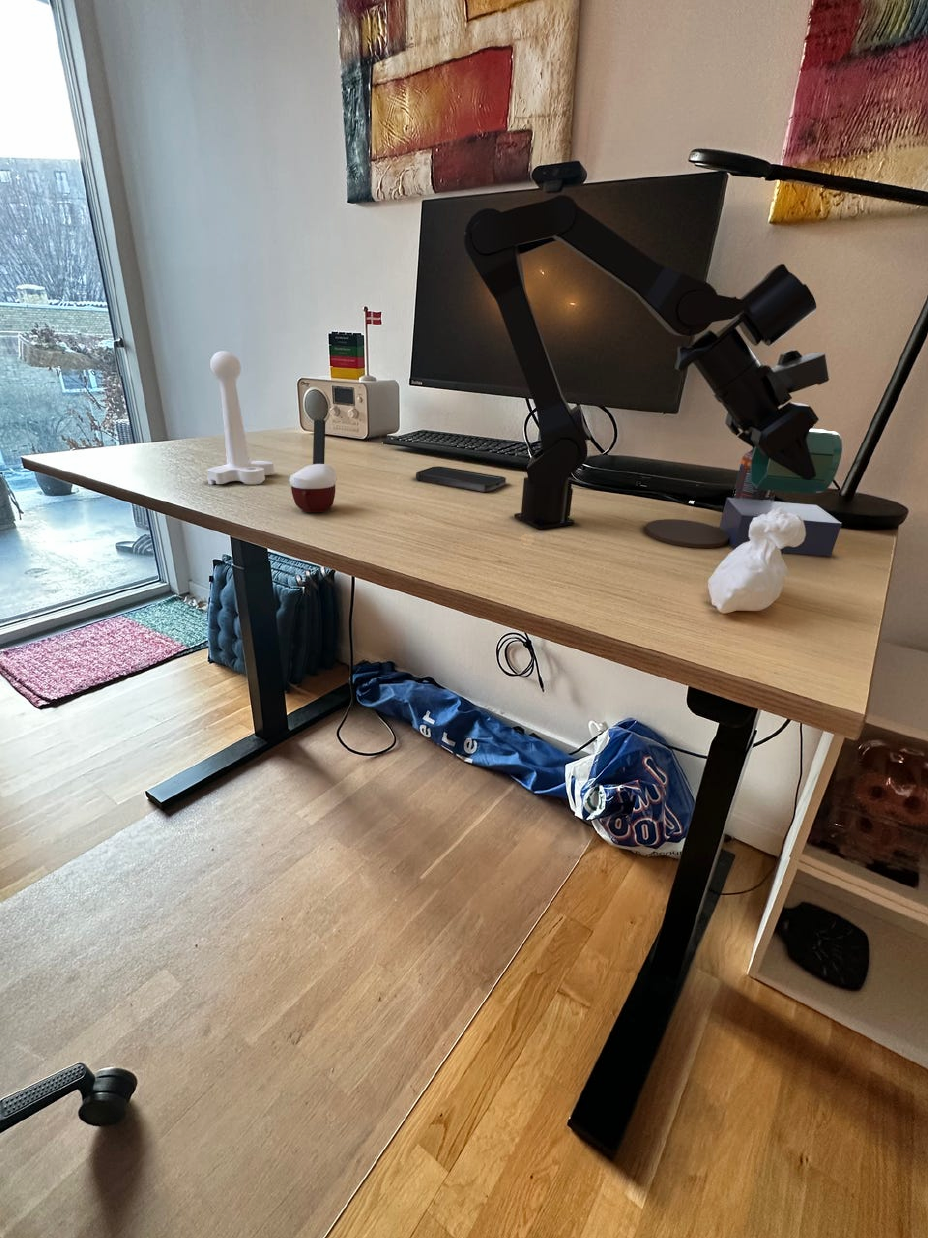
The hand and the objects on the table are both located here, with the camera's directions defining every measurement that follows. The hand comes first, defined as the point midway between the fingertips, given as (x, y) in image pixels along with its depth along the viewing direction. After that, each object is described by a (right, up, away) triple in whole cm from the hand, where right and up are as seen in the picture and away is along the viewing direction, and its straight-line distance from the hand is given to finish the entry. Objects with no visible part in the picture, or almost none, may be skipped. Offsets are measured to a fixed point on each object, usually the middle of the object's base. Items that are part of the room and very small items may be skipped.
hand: (801, 471), depth 75 cm
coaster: (-13, -7, +6) cm, 16 cm away
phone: (-44, +5, +28) cm, 53 cm away
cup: (-1, -2, +1) cm, 3 cm away
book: (-2, -8, +5) cm, 10 cm away
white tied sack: (-15, -18, -15) cm, 27 cm away
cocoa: (-65, -3, +10) cm, 66 cm away
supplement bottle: (+2, -2, +18) cm, 18 cm away
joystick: (-81, +4, +24) cm, 84 cm away
